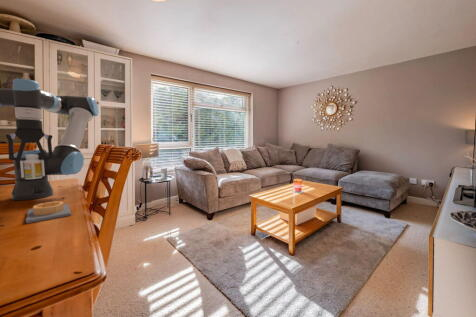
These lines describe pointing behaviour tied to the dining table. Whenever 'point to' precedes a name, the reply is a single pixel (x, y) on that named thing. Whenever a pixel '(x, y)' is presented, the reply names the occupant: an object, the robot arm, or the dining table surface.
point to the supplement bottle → (32, 167)
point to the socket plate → (47, 211)
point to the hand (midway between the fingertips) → (33, 176)
